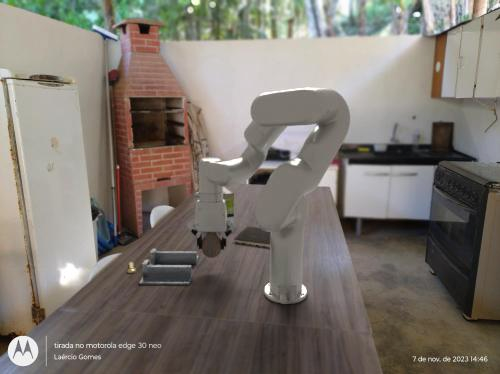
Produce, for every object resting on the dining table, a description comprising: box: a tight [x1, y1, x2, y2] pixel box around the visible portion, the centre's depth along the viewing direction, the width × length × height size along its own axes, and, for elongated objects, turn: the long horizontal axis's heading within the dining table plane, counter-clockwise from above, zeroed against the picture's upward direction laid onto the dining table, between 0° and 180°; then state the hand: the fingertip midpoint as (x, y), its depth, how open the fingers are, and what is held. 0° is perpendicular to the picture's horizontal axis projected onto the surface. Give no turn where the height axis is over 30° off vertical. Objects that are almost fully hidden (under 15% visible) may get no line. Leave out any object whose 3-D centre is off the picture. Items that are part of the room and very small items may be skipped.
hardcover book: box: [233, 225, 271, 248], centre depth 153 cm, size 16×23×2 cm
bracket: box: [138, 248, 200, 286], centre depth 126 cm, size 20×16×5 cm
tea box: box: [223, 187, 235, 224], centre depth 175 cm, size 15×10×15 cm, turn 22°
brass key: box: [127, 261, 137, 274], centre depth 128 cm, size 7×3×1 cm, turn 19°
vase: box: [201, 232, 223, 259], centre depth 124 cm, size 7×7×9 cm
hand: (211, 247), depth 125 cm, fingers closed on vase, 6 cm apart
